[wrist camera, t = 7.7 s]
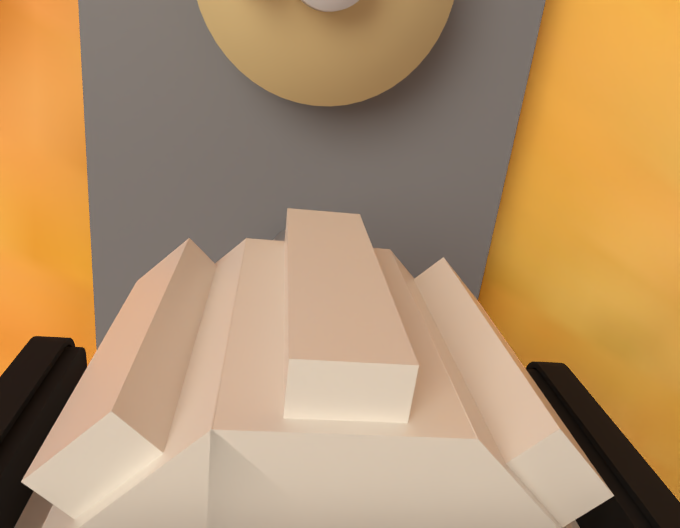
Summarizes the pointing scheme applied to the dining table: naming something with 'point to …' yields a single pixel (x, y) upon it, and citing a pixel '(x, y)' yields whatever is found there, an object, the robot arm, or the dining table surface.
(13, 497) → the robot arm
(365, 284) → the loose gear
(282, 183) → the gear board
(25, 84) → the dining table surface
